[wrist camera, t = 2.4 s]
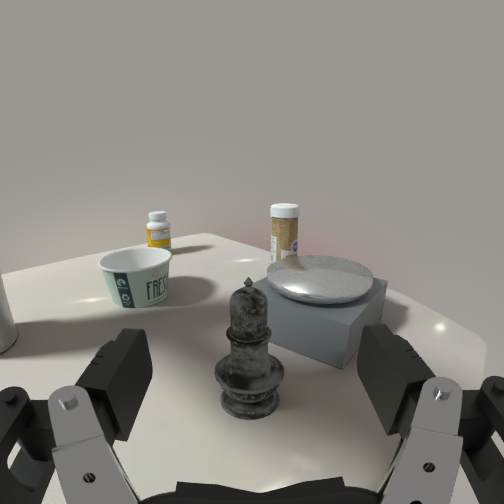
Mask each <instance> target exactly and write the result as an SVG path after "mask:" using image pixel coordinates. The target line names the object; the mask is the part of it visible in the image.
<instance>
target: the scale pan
mask: <svg viewBox="0 0 504 504" xmlns="http://www.w3.org/2000/svg"><path fill="white" fill-rule="evenodd" d="M267 283H268V285H269V286H270V288H271V289H273V290H274V291H275V292H277V293H279V294H281V295H283V296H285V297H288V298H291V299H294V300H298V301H303V302H309V303H319V304H337V303H346V302H351V301H354V300H358V299H360V298H362V297H364V296H366V295H367V294H368V293H369V292H370V291H371V289H372V283H373V274H372V272H371V271H370V270H369V269H368V268H366V267H365V266H363V265H361V264H359V263H356V262H353V261H350V260H346V259H342V258H337V257H331V256H319V255H306V256H294V257H288V258H284V259H280V260H278V261H276V262H274V263H272V264H271V265H270V266H269V267H268V269H267Z"/></svg>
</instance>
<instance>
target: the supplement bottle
mask: <svg viewBox="0 0 504 504" xmlns="http://www.w3.org/2000/svg"><path fill="white" fill-rule="evenodd" d="M165 218H166V212H165V211H156V212H151V213H149V220H150V222H149V223H148V224H147V237H148V247H154V248H162V249H165V250H168V251H169V252H172V250H171V237H170V224H169V222H168V221H166V220H165Z"/></svg>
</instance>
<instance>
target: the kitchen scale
mask: <svg viewBox="0 0 504 504" xmlns="http://www.w3.org/2000/svg"><path fill="white" fill-rule="evenodd" d="M252 287H254V288H257V289H259V290H261V291H262V292H263V293H264V294H265V295H266V297H267V301H268V309H267V326H268V327H269V328H270V329H271V331H272V336H271V338H270V339H269V340H268V341H269V342H271V343H274V344H276V345H279V346H281V347H284V348H286V349H289V350H291V351H294V352H297V353H299V354H302V355H304V356H307V357H310V358H312V359H315V360H318V361H320V362H323V363H326V364H329V365H331V366H334V367H337V368H340V369H343V368H344V366H345V365H346V364H347V363H348V361H349V360H350V359H351V357H352V356H353V355H354V353H355V352H356V351H357V350H358V348H359V347H360V342H361V336H362V330H363V328H364V326H365V325H372V324H376V323H377V322H378V321H379V319H380V318H381V316H382V311H383V305H384V300H385V294H386V288H387V281H386V280H382V279H378V278H373V283H372V289H371V291H370V292H369V293H368V294H367V295H366V296H364V297H362V298H360V299H358V300H354V301H351V302H346V303H337V304H319V303H309V302H303V301H298V300H294V299H291V298H288V297H285V296H283V295H281V294H279V293H277V292H275V291H274V290H273V289H271V288H270V286H269V285H268V283H267V277H266V278H264V279H262V280H260V281H257V282H255V283H253V284H252Z"/></svg>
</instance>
